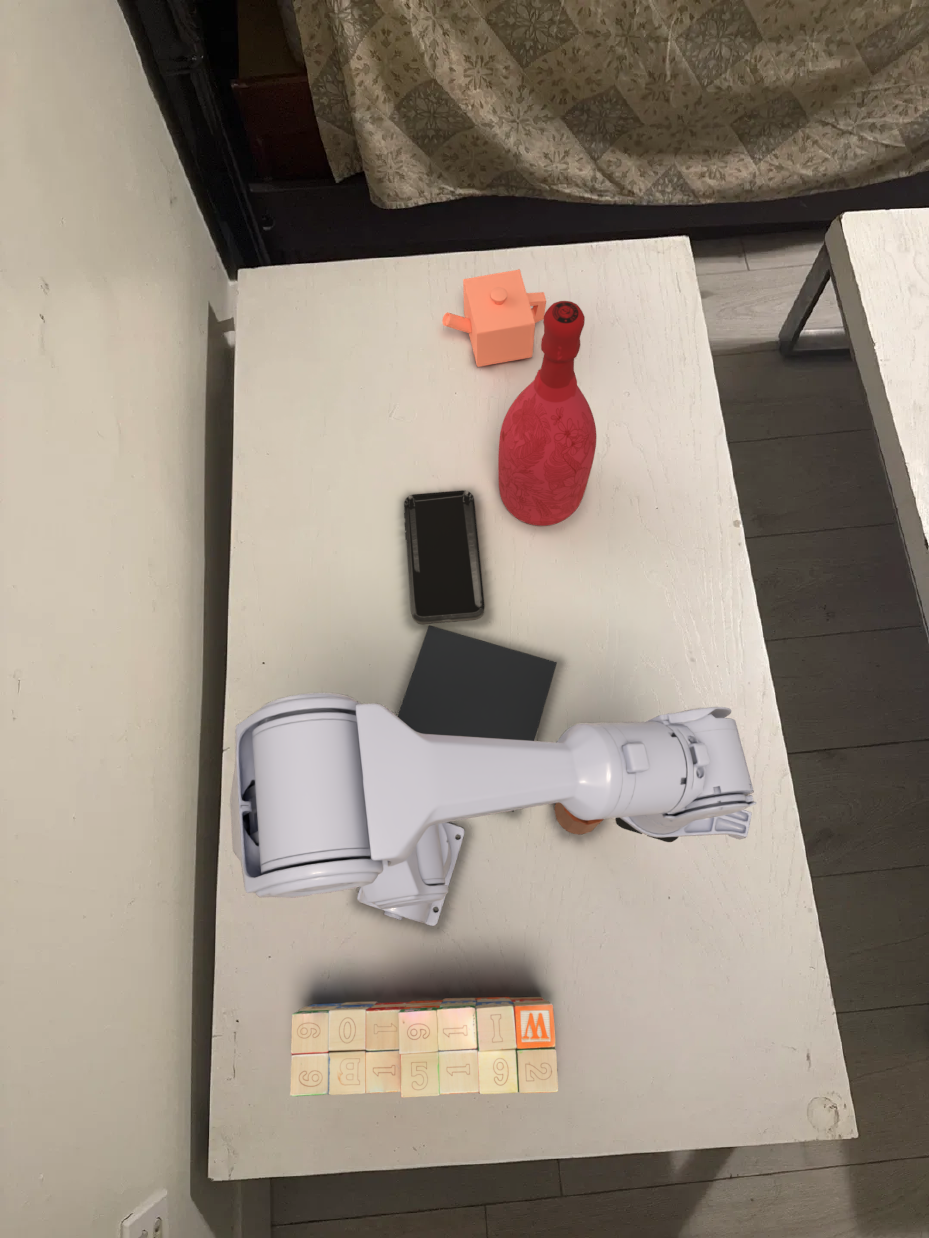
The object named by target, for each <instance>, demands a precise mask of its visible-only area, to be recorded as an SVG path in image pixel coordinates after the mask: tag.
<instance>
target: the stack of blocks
mask: <svg viewBox="0 0 929 1238" xmlns="http://www.w3.org/2000/svg"><path fill="white" fill-rule="evenodd" d="M554 1014H555V1012H554V1005H553V1003H551V1002H550V1001H549V1000H547V999H544V997H542V996H527V997H525V996H524V997H522V996H520V997H519V996H518V997H509V996H489V997H486V996H485V997H452V998H451V997H449V998H447V997H446V998H443V999H435V1000H411V1001H394V1002H393V1001H392V1002H378V1001H376V1000H375V1001H346V1002H336V1003H312V1004H309V1005H307V1006H304V1007H301V1008H299V1009H298V1011H296V1012H293V1013H292V1014H291V1041H290V1054H291V1058H290V1059H291V1060H290V1088H289V1089H290V1090H289V1092H290V1093H289V1096H290V1097H309V1096H324V1095H325V1096H326V1095H328V1096H341V1095H344V1096H345V1095H361V1094H362V1095H363V1094H370V1095H371V1094H385V1093H386V1094H387V1093H398V1092H399V1093H400V1098H402V1099H403V1098H424V1097H439V1096H440V1095H457V1094H476V1093H477V1094H479V1095H497V1094H499V1095H500V1094H516V1093H520V1094H543V1093H544V1094H545V1093H550V1094H551V1093H558V1092H559V1080H558V1079H559V1078H558V1060H557V1049H556V1027H555V1015H554Z"/></svg>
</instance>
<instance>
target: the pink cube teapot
mask: <svg viewBox="0 0 929 1238" xmlns="http://www.w3.org/2000/svg"><path fill="white" fill-rule="evenodd" d="M462 283H463V284H462V285H463V286H462V289H463V291H462V292H463V316H461V315H457V314H454V313H451V312H445V313H444V314H443V317H442V320H441V321H442V325H443V326H444V327H447V328H450V329H453V330H457V331H460V332H464V333H467V334H468V336H469V339H470V345H471V348H472V352H473V356H474V360H475V364H476V367H477V368H479V367H486V366H491V365H496V364H502V363H507V362H513V361H519V360H523V359H529V358H533V353H534V342H535V341H534V340H535V330H536V324H537V323H539V322H540V321H543V320H544V315H545V313H546V307H547V298H546V295H545V292H544V291H540V292H527V290H526V289H527V288H526V287H525V282H524V279H523V276H522V273H521V269H520V268H518V269H515V270H514V269H513V270H507V271H502V272H496V273H490V274H485V275H480V276H473V277H468V278H464V279H462Z"/></svg>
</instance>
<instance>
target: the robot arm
mask: <svg viewBox="0 0 929 1238" xmlns="http://www.w3.org/2000/svg"><path fill="white" fill-rule="evenodd" d="M731 714H732V709H731V708H730V707H725V706H707V707H698V708H691V709H686V710H685V709H684V710H681V711H678V712H671V713H670V712H669V713H664V714H663V713H662V714H659V715H657V716H654V717H652V718H650V719H647V720H646V721H614V722H613V721H612V722H610V721H609V722H608V721H607V722H579V723H575V724H573V725H571V726H569V727H568V728H567V729H566V730H565V731H564V732H563V733H562V734H561V735H560V737H558V739H557V740H556V742H555V741H540V740H534V741H526V740H510V739H495V738H479V737H464V736H448V735H433V734H422V733H419V732H416V731H414V730H413V729H411V728H410V727H409V726H408V725H407V724H405V723H404V722H403V721H402V720H401V719H400V718H398V715H396V714H395V713H394V712H393V711H392V710H390V709H389V708H388V707H386V706H385V705H382V704H380V703H376V702H375V703H374V702H373V703H372V702H371V703H361V702H359V701H357V700H355V699H354V698H353V697H351V696H349V695H346V694H342V693H338V692H337V693H336V692H307V693H298V694H293V695H287V696H284V697H280V698H276V699H274V700H272V701H268V702H267V703H264V704H263V705H261V706H260V708H258V709H257V710H256V711H254V712H252V713H251V714H250V715H248V716H247V717H246V718H245V719H244V720H242V721H240V722H239V723H238V724H236V725H235V729H234V733H235V734H234V768H233V774H232V782H231V789H230V797H229V809H230V823H231V824H230V825H231V843H232V845H231V846H232V852H233V854H234V855H235V856H236V858H237V859H238V860H239V861H240V866H241V874H242V880H243V887H244V891H245V893H246V894H255V896H257V897H258V898H261V899H262V898H267V899H269V898H270V899H274V898H275V899H276V898H277V899H278V898H279V899H285V898H286V899H291V898H292V899H293V898H294V899H295V898H302V897H303V898H304V897H311V896H314V895H321V894H328V893H334V892H341V891H346V890H351V889H357V888H359V890H358V893H357V897H356V899H357V901H358V902H359V903H361V904H362V905H363V904H364V905H367V906H368V907H369V906H370V907H373V908H375V909H378V910H382V911H383V915H384V916H387V917H390V918H393V919H396V920H399V921H403V919H404V918H405V919H409V920H411V921H415V922H418V923H421V924H424V925H427V926H429V927H435V926H436V925H437V924H438V923H439V920H440V917H441V914H442V910H443V906H444V904H445V903H444V902H445V900H446V897H447V894H449V887H450V883H451V880H452V877H453V873H454V871H455V867H456V863H457V860H458V857H459V853H460V851H461V847H462V844H463V841H464V838H465V833H466V831H465V829H464V828H463V827H461V826H459V825H456V824H452V823H451V822H457V821H463V820H469V819H473V818H480V817H485V816H490V815H496V814H500V813H506V812H507V813H508V812H513V810H514V811H518V810H523V809H529V808H535V807H540V806H545V805H551V804H556V803H558V802H560V803H561V804H562V805H563V806H564V807H565V808H566V809H567V810H568V811H569V812H570V813H571V814H572V815H574V816H575V817H577V818H579V819H582V820H595V819H604V820H607V819H608V820H609V819H615V823H616V824H615V825H616V826H618V827H619V828H621V829H624V830H626V831H629V832H633V833H636V834H640V835H644V836H646V837H649V838H652V839H655V840H659V841H662V842H665V843H672V842H673V843H674V841H676V840H678V839H679V838H680V837H696V836H697V837H698V836H699V837H700V836H719V835H721V836H722V835H723V836H728V837H730V838H733V839H736V840H744V839H745V838H748V834H749V830H750V824H751V819H752V814H753V813H752V812H751V811H749V810H746V809H747V808H749V807H752V806H754V805H757V801H754V798H753V795H752V794H753V793H754V792H755V790H754V786H753V782H752V779H751V775H750V772H749V768H748V764H747V760H746V756H745V753H744V750H743V744H742V741H741V737H740V734H739V729H738V725H737V722H736V720H735V719H734V718H730V717H728V716H730V715H731ZM457 836H460V838H459V839H457V838H456V837H457ZM435 908H437V909H438V910H437V912H435V911H434V909H435Z"/></svg>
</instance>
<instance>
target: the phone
mask: <svg viewBox="0 0 929 1238" xmlns="http://www.w3.org/2000/svg"><path fill="white" fill-rule="evenodd" d="M403 509H404V510H403V511H404V513H403V517H404V531H405V532H404V537H405V540H406V541H405V542H406V553H407V569H408V585H409V598H410V612H411V616H412V619H413V621H414V622H415V623H417V624H419V625H430V624H440V623H441V624H442V623H452V622H465V621H476V620H478V619H481V618H482V617H483V615H484V613H485V598H484V597H485V595H484V586H483V575H482V566H481V555H480V546H479V535H478V528H477V527H478V525H477V515H476V505H475V498H474V495H473V493H471V492H470V491H468V490H465V489H464V490H449V491H437V492H427V493H413V494H410V495H408V496H407V497H406V498H405V499H404V502H403Z"/></svg>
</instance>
